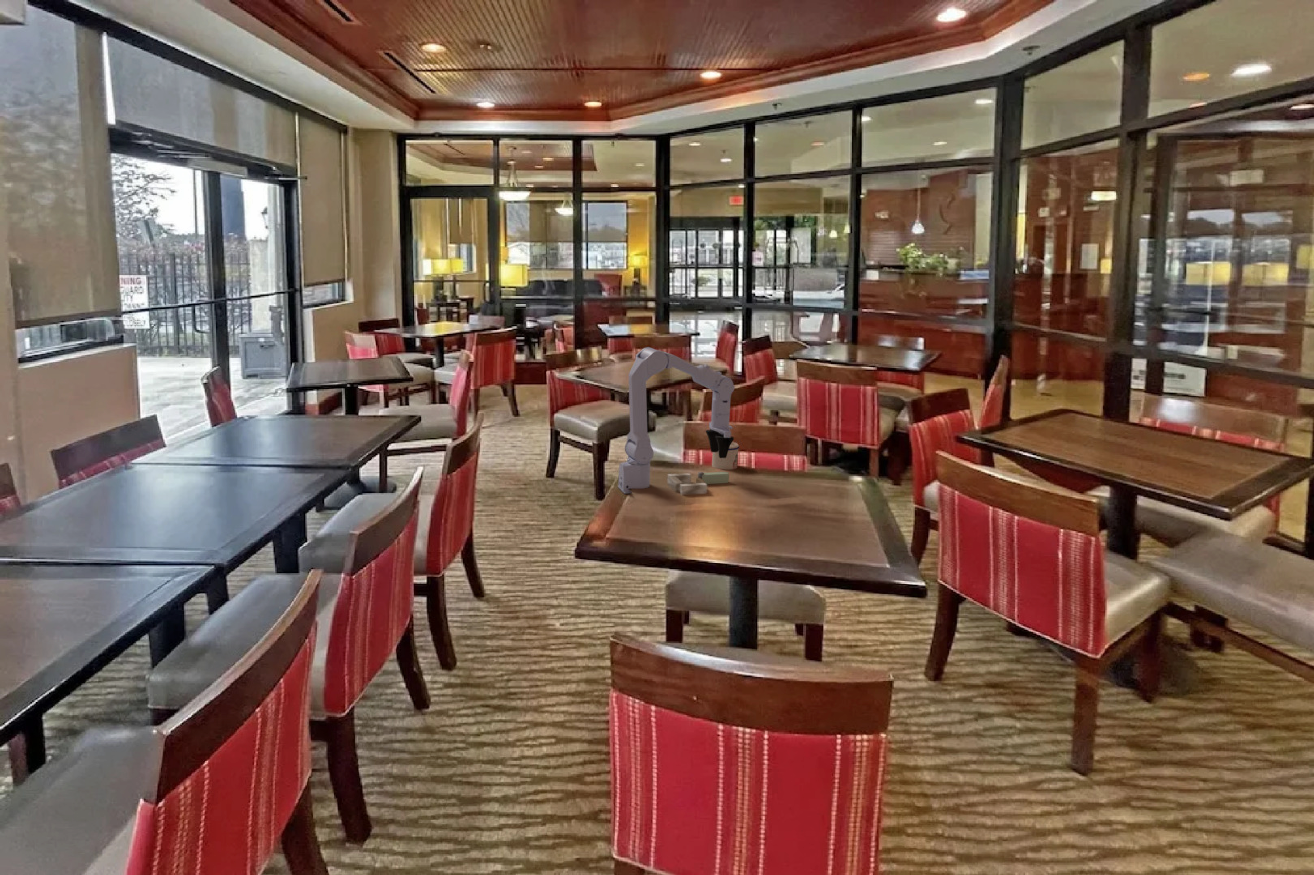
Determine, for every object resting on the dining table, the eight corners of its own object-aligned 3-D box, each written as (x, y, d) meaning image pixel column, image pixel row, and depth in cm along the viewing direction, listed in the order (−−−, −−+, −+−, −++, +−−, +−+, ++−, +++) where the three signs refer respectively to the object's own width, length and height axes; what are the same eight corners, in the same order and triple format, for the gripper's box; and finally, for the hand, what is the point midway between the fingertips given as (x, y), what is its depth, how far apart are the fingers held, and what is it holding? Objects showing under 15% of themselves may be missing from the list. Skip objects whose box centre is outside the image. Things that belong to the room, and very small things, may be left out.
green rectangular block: (728, 482, 285) (729, 472, 285) (699, 484, 282) (699, 474, 282) (725, 480, 288) (726, 470, 287) (696, 482, 285) (697, 472, 284)
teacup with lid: (738, 474, 302) (740, 440, 299) (711, 473, 302) (713, 439, 299) (736, 465, 313) (738, 432, 311) (710, 464, 313) (711, 431, 311)
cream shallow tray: (678, 499, 271) (679, 486, 270) (664, 487, 284) (664, 474, 283) (722, 497, 275) (722, 483, 274) (706, 484, 288) (706, 472, 287)
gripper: (740, 417, 279) (738, 459, 282) (724, 408, 293) (722, 449, 296) (719, 418, 277) (717, 460, 280) (703, 408, 291) (702, 449, 294)
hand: (718, 454), depth 288 cm, fingers open, 7 cm apart
